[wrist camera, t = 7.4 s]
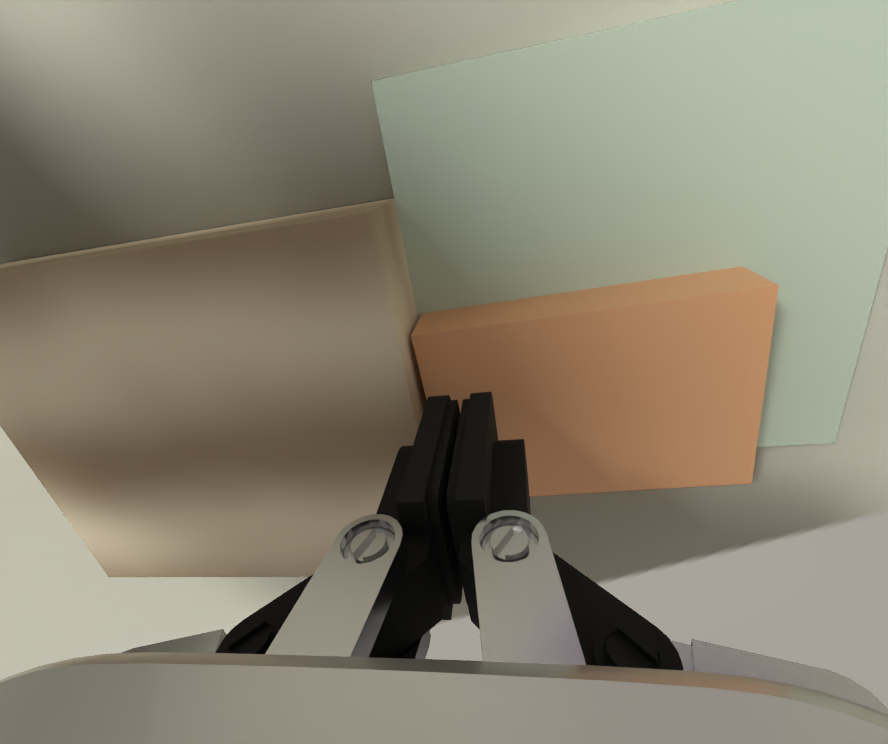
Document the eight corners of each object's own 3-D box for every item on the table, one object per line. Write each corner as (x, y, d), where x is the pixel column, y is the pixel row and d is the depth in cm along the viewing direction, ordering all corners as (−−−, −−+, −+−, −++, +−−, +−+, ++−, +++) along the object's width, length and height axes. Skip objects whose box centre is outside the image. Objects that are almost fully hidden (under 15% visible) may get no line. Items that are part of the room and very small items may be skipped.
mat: (375, 83, 11) (370, 80, 11) (950, -43, 9) (968, -51, 9) (447, 456, 17) (446, 463, 16) (826, 435, 14) (834, 443, 14)
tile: (421, 313, 14) (410, 335, 12) (743, 266, 12) (778, 285, 10) (456, 466, 16) (451, 501, 15) (725, 446, 15) (751, 483, 13)
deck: (6, 262, 15) (-99, 287, 13) (397, 197, 13) (368, 212, 10) (159, 520, 21) (108, 577, 18) (459, 511, 18) (450, 575, 15)
